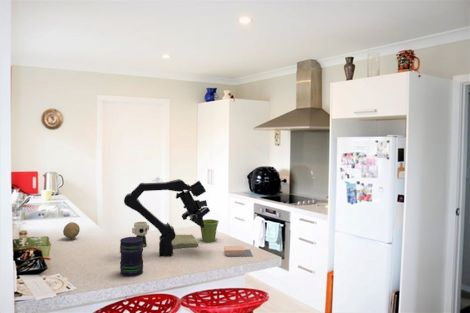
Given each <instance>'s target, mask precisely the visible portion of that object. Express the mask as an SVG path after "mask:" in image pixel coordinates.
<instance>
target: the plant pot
mask: <svg viewBox="0 0 470 313" xmlns="http://www.w3.org/2000/svg"><path fill="white" fill-rule="evenodd" d="M219 222H220V221H219V220H217V219H211V218H210V219H207V218H206V219H203V223H204V227H203V228H201V227H200V226H199V227H200V232H201V233H200V234H201V240H202V242H206V243H212V242H214V241H216V235H217V234H216V233H217V228H218V224H219Z"/></svg>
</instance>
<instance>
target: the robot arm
mask: <svg viewBox="0 0 470 313" xmlns="http://www.w3.org/2000/svg"><path fill="white" fill-rule="evenodd" d="M205 188H206V187H205V186H203V184H202V183H201V180H198V181H195V183H193V184H191V185H190V184H187V183H186V182H185V181H184V180H182V179H181V178H180V179H173V180H170V181H165V182H140V183H139V184H138V185H137V186H136V187H135V188H134V189H133V190H132V191H131V192H130V193H127V194H125V196H124V198H123V204H124V205H125V206H126V207H128V208H130V210H131V209H132V210H134V211H135V212H138V213H139V214H140V215H141V216H142V217H143V218H144V219H145V220H147V221H148V222H149V223H150V224H151V225H153V227H154V228H156V229H157V230H158V231H159V233H160V234H161V235H159V242H158V250H159V252H158V256H159V257H172V256H173V254H174V249H173V245H172V240H174V238H175V236H176V235H177V233H176V231H175V229H174V226H172V225H171V224H170V223H169V222H166V223H164V222H162V221H161V220H160V219H159V218H158V217H156V216H155V214H153V213H152V212H151V211H150V210H149V209H147V208H146V207H145V206H144V205H143V204H142V203H141V201H140V200H139V198H140V196H141V195H142V194H143V193H144V192H152V191H154V192H155V191H170V192H171V191H172V192H176V195H175V199H177V200H178V199H179V198H180V200H181V202H182V204H183V208H184V209H186V211H185V212H183V213H182V215H181V218H182V220H183V221H184V220H189V221H191V222H193V223H194V224H196V225H197V226H198V227H201V228H203V227H204V223H203V220H204V216H206V215H207V214H209V212H211V210H210V208H209V207H208V204H207V203H208V202H207V200H206V199H205V200H200V199H194V197H196V198H197V197H200V196H201V195H203V194H205V193H206V192H207V191H206V189H205ZM188 217H189V219H187V218H188ZM201 228H200V229H201Z"/></svg>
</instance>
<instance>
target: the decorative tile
mask: <svg viewBox="0 0 470 313" xmlns="http://www.w3.org/2000/svg"><path fill="white" fill-rule="evenodd" d="M172 245H173V250H181V249H182V248H183V249H193V248H194V249H196V248H197V247H198V248H199V242H198V240H197V238H196V237H195V236H194V235H193V234H187V233H186V234H176V236H175V238H174V240H172ZM198 248H197V249H198Z"/></svg>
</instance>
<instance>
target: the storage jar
mask: <svg viewBox="0 0 470 313" xmlns="http://www.w3.org/2000/svg"><path fill="white" fill-rule="evenodd" d="M119 242H120V244H119V245H120V246H119V253H120V263H119V270H120V275H121V277H126V278H133V277H138V276H141V275H142V274H143V273H144V260H143V252H144V246H143V238H141V237H136V236H127V237H123V238H121V239H120V240H119Z"/></svg>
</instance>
